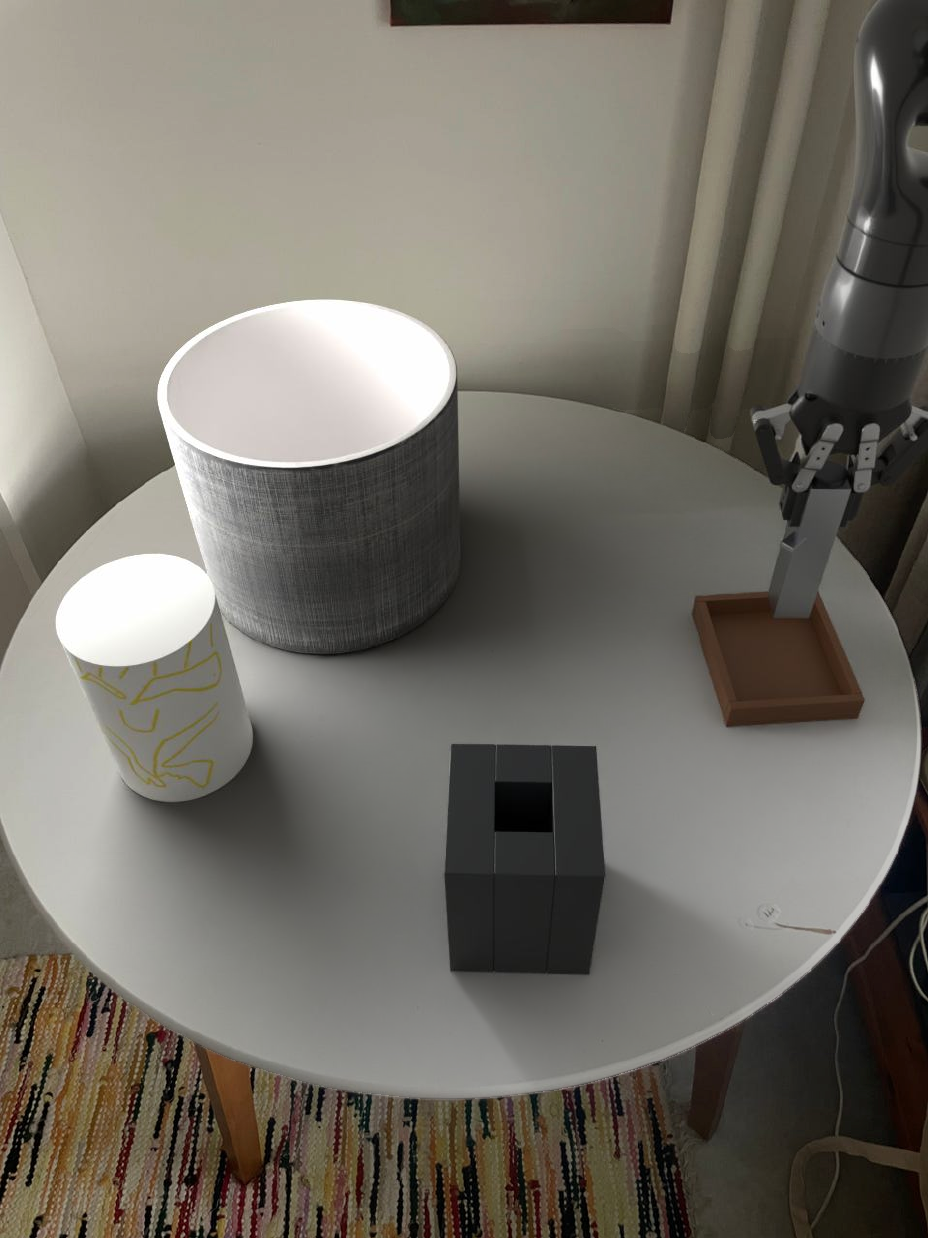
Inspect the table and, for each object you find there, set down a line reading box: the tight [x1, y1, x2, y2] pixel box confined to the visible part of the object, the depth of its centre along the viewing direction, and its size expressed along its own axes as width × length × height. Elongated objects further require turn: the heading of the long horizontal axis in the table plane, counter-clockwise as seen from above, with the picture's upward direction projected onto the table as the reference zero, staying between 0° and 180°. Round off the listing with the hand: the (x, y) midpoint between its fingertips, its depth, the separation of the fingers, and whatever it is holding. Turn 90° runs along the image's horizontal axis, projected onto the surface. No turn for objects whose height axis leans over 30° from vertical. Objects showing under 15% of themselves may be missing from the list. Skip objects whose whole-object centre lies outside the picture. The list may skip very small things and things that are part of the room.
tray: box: [691, 590, 866, 728], centre depth 93 cm, size 14×12×2 cm
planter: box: [157, 299, 462, 655], centre depth 96 cm, size 25×25×22 cm
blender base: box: [443, 743, 606, 976], centre depth 72 cm, size 10×10×14 cm
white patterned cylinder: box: [55, 553, 254, 803], centre depth 82 cm, size 12×12×17 cm
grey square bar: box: [767, 459, 851, 618], centre depth 83 cm, size 6×6×15 cm
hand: (814, 519), depth 81 cm, fingers closed on grey square bar, 3 cm apart
